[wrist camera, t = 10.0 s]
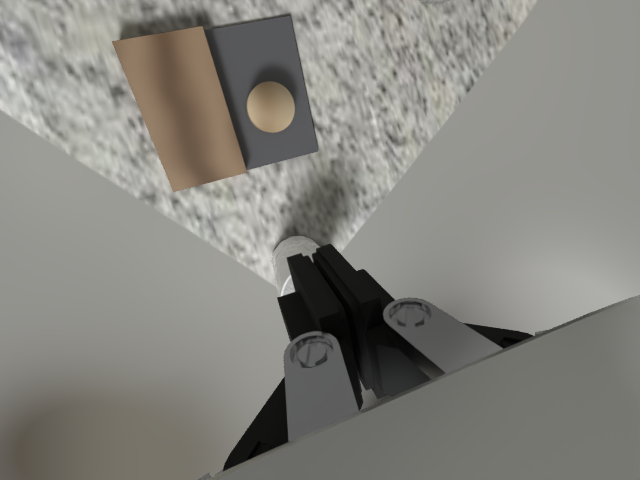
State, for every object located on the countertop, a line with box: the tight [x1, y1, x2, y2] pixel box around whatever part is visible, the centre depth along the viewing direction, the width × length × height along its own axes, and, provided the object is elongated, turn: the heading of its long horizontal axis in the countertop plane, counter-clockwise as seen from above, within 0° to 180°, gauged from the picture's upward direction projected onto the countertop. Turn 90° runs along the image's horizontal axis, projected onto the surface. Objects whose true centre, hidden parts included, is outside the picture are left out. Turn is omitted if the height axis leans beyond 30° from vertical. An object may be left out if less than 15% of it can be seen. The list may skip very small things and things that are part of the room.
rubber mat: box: [204, 16, 318, 170], centre depth 35 cm, size 9×14×1 cm, turn 12°
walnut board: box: [112, 26, 247, 192], centre depth 32 cm, size 8×14×2 cm, turn 12°
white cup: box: [272, 236, 320, 297], centre depth 38 cm, size 8×8×10 cm
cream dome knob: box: [246, 81, 295, 133], centre depth 34 cm, size 5×5×2 cm
